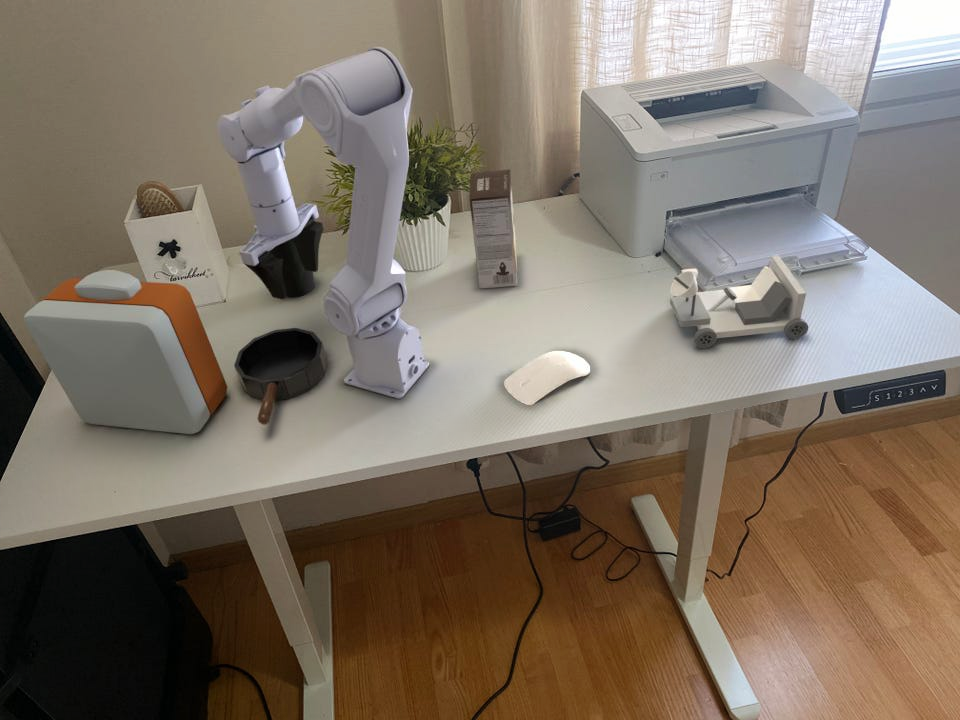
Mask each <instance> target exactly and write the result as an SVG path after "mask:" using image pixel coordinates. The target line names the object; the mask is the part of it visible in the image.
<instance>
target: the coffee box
mask: <svg viewBox="0 0 960 720" xmlns="http://www.w3.org/2000/svg"><path fill="white" fill-rule="evenodd" d="M513 196H514V195H513V183H512V171H511V169H509V168H508V169H501V170H499V169H498V170H487V171H486V170H485V171H480V172H472V173H470V181H469V207H470V216H471V226H472V234H473V245H474V253H475V261H476V262H475V263H476V270H477V271H476V272H477V280H478V281H477V282H478V287H479V289H494V288H507V287H517V286H518V262H517V242H516V241H517V239H516V225H515V211H514V210H515V209H514V199H513V198H514V197H513Z"/></svg>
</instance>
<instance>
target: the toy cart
mask: <svg viewBox="0 0 960 720" xmlns="http://www.w3.org/2000/svg"><path fill="white" fill-rule="evenodd" d="M698 276H699V271H698V269H697V268H687V269H686V268H685V269H681V272H678V273H677V276H675V277H673V279H674V280H673V281H672V283H671V286H670V289H669V290H670V294H671V295H672V296H671V297H670V301H669V304H670V306H671V308H672V311H673V312H674V315H675V317H676V319H677V321H678V323H679V326H680V328H685V327H696V328H697V331H696V332H695V333H694V335H693V342H694V344H695V346H696V347H697V348H699V349H708V348H711V347H712V346H714V345H715V344H716V342H717V339H721V338H732V337H743V336H752V335H762V334H770V333H781V332H784V334H785V336H786V337H787V338H788V339H790V340H797V339H800V338H803V337H804V336H805V335H806V334H807V333H808V331H809V324H808V323H807V322H806V320H805V319H803V318H802V314H803V309H804V306H805V300H806V296H807V292H806V291H805V289H804V288H803V286H802V285H801V284H800V282H799V281H798V280H797V278H796V277H795V276H794V274H793V272H792V271H791V270H790V269H789V267H788V266H787V265H786V263H785V261H783V259H782V258H781V256H780V255H779V254H774V255H773V254H772V255H770V261H769V266H766V265H764V266H763V268H762V269H761V271H760V272H759V273H758V275H757V276H756V277H755V279H754V280H753V281H752V283H751V284H745V285H738V286H727V287H725V288H724V289H717V290H715V289H714V290H707V291H705V290H704V291H698V287H699V285H698V281H697V279H698V278H699V277H698Z"/></svg>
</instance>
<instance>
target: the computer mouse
mask: <svg viewBox="0 0 960 720" xmlns="http://www.w3.org/2000/svg"><path fill="white" fill-rule="evenodd" d="M590 373H591V366H590V364H589V363H588V362H587V360H585V358H582V357H581V356H579V355H577V354H575V353H573V352H570V351H564V350H552V351H549V352H545V353H544V354H541V355H540V356H537V357H536V358H534V359H532V360H530V361H529V362H527V363H525V364H524V365H523V366H522V367H520V368H518V369H517V370H516V371H514V372H513V373H512V374H510V375H509V376H508V377H507V378H506V379H505V380H504V381H503V384H504V387H505V390H506V391H507V393H508V394H509V395H511V397H513V398H514V399H515V400H517V401H518V402H520V403H522V404H525V405H527V406H533V405H534V404H535V403H537V402H538V401H539V400H541V399H542V398H544V397H546V396H547V395H548V394H549V393H551V392H552V391H554V390H556V389H557V388H559V387H561V386H562V385H564V384H565V383H568V382H569V381H571V380H575V379H577V378H581V377H585V376H588V375H589V374H590Z"/></svg>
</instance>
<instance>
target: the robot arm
mask: <svg viewBox="0 0 960 720" xmlns="http://www.w3.org/2000/svg"><path fill="white" fill-rule="evenodd" d="M413 91H414V90H413V88H412V86H411V83H410V82H409V80H408V78H407V75H406V73H405V71H404V68H403V66H402V65H401V63H400V61H399V60H398V59H397V57H396V56H395V55H394V54H393V53H392V52H391V51H390V50H388V49H387V48H385V47H383V46H374V47H372V48H370V49H367V51H365V52H363V53H362V52H360V53H357V54H354V55H351V56H347V57H345V58H342V59H339V60H335V61H333V62H330V63H327V64H325V65H322V66H319V67H317V68H314V69H311V70H308V71H305V72H303V73H301V74H299V75H296V76H295V77H294V80H293V81H292V82H291V83H289V85H288V86H286V87H285V88H280V87H271V88H270V86H269V85H265V86H262V87H259V88H256V90H254V91H253V93H254V95H255V97H254V98H253V99H251V98H250V99H247V100H244V101H243V102H242V103H241V104H240V107H241V109H240V110H238V111H234V112H233V113H229V114H222V115H220V117H219V119H218V120H217V125H216V126H217V133H218V137H219V139H220V142H221V144H222V146H223V148H224V149H225V151H226V153H227V154H228V155H229V157H231V158H232V159H233V160H234V161H236V164H237V167H238V171H239V175H240V177H241V178H240V179H241V180H242V184H243V187H244V190H245V193H246V196H247V200H248V203H249V205H250V209H251V211H252V215H253V218H254V221H255V224H254V225H253V228H254V231H255V233H254V234H253V235H252V237H250V239H249V241H247V242H248V243H247V244H246V245H245V246H244V247H243V248H242V249H240V250H239V255H240V258H241V261H242V264H243V265H245V266H246V267H247V268H248V269H249V270H250V271H252V272H253V273H254V274H255V275H256V276H257V277H258V279H259V280H260V281H261V282H262V283H263V285H264V287H266V289H267V290H268V292H269V294H270V295H271V297H272V298H273V299H279V300H285V299H286V298H287V296H286V289H285V285H284V281H283V275H282V263H283V259H280V258H275V257H273V255H272V254H271V255H270V252H269V251H270V250H272V249H273V248H274V247H275V246H277V245H279V244H281V243H283V242H286V241H288V240H290V239H292V240H293V242H294V244H295V246H296V248H297V251H298V254H299V257H300V260H301V263H302V265H303V267H304V269H305V270H307V271H312V272H313V273H317V272H318V271H319V251H320V243H321V238H322V235H323V233H324V225H323V223H322V222H320V221H316V219H318V218H319V217H320V215H319V211H318V207H317V204H313V203H306V202H305V203H304V204H302V205H300V206H299V207H296V203H295V200H294V197H293V193H292V190H291V189H292V188H291V185H290V181H289V178H288V175H287V171H286V168H285V164H284V163H285V162H284V161H285V160H286V156H287V155H286V152H285V151H286V150H285V143H286V142H285V141H286V140H288V139H290V138H292V137H294V136H295V135H296V134H298V132H299V131H300V130H301V128H302V127H303V124H304V118H305V120H306V121H307V122H309V123H310V124H311V125H312V126H313V127H314V129H315V130H316V132H317V133H318V135H319V136H320V138H322V140H323V141H324V142H325V144H326V145H327V147H328V148H329V150H330V151H331V152H332V154H333V155H334V156H335V157H336V160H338V161H339V163H340V164H342V165H343V164H344V165H349V166H353V167H354V176H353V187H352V189H353V190H352V198H351V209H350V219H349V231H348V241H347V251H346V252H347V253H346V260H345V261H346V262H345V265H344V266H343V267H342V268H341V269H340V271H339V272H338V273H337V274H336V275H335V277H334V278H333V279H332V280H331V282H330V283H329V289H328V292H326V293H325V294H324V296H323V310H324V311H323V312H324V314H325V316H326V318H327V320H328V321H329V323H330V324H331V325H332V327H333V328H334V329H335V330H336V331H337V332H339V333H340V334H342V335H344V336H345V337H346V340H347V341H346V342H347V344H348V348H349V352H350V356H351V361H352V365H353V369H352V370H351V371H350V372H349V373H348V374H347V375H346V376H345V377H344V379H343V383H344V384H345V385H350V386H352V387H357V388H359V389H363V390H366V391H370V392H374V393H377V394H381V395H384V396H387V397H392V398H395V399H402V398H403V397H404V396H405V394H407V392H408V391H409V390H410V389H411V388H412V386H413V385H414V384H415V383H416V381H418V380H419V378H420V377H421V376H422V374H423V373H424V372H425V371H426V370H427V369H428V367H429V366H430V362H429V361H427V360H426V359H425V352H424V347H423V341H422V335H421V333H420V330H419V329H418V328H417V327H415V326H414V325H410V324H409V323H408V322H405V321H404V320H403V319H402V318H401V317H400V316H401V315H402V314H403V312H402V306H403V305H404V304H406V302H407V300H408V289H407V285H406V271H405V270H404V268H403V267H402V265H401V264H400V263H398V261H397V260H396V259H394V255H395V249H396V243H397V237H398V231H399V226H400V225H399V224H400V219H401V213H402V208H403V200H404V196H405V195H404V194H405V189H406V183H407V178H408V172H409V166H410V165H409V164H410V154H409V142H408V131H407V130H408V125H409V123H408V122H409V118H410V110H411V104H412V98H413Z"/></svg>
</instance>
